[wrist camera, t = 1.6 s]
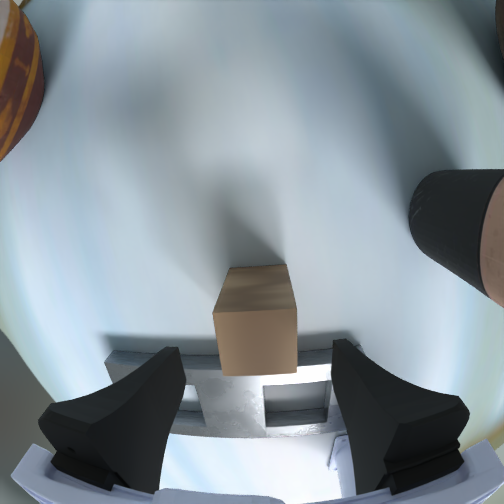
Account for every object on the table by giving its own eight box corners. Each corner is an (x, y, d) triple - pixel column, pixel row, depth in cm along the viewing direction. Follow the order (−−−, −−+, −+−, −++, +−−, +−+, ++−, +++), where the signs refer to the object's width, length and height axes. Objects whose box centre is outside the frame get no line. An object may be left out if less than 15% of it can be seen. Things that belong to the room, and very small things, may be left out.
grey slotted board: (360, 344, 21) (367, 358, 19) (348, 414, 23) (352, 428, 21) (113, 350, 22) (104, 362, 20) (140, 415, 25) (134, 427, 23)
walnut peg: (286, 264, 20) (296, 308, 13) (288, 314, 21) (297, 373, 14) (229, 267, 20) (212, 312, 13) (235, 317, 21) (223, 376, 14)
